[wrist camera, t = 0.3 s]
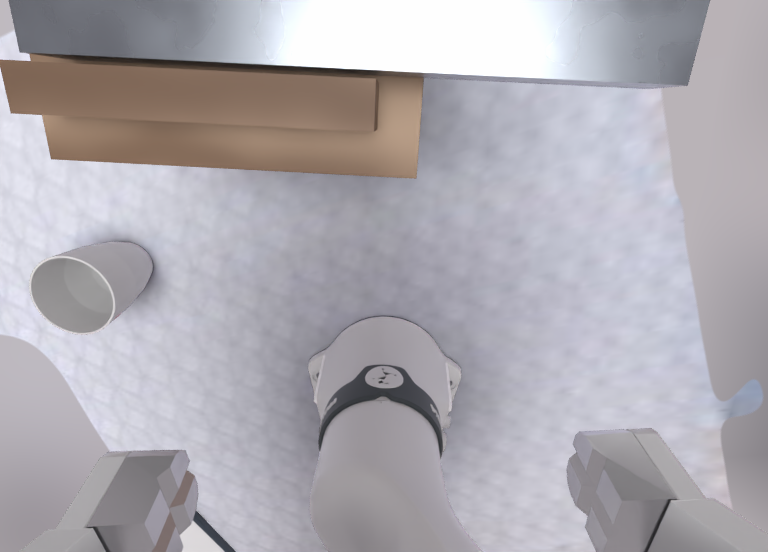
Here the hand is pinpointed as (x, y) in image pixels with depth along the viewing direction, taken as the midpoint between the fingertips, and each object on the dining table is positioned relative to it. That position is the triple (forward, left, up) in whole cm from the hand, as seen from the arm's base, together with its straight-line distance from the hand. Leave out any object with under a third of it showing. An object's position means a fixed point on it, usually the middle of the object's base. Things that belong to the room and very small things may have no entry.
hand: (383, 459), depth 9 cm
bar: (+10, +2, -15) cm, 18 cm away
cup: (-11, +30, -41) cm, 52 cm away
